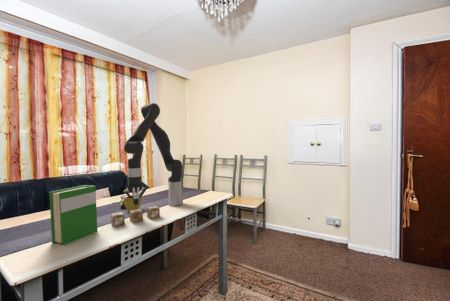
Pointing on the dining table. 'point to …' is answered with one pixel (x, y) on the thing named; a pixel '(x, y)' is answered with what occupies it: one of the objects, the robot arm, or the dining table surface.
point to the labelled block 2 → (153, 212)
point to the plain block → (136, 215)
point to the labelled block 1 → (117, 219)
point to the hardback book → (73, 213)
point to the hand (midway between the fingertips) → (135, 204)
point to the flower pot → (131, 203)
